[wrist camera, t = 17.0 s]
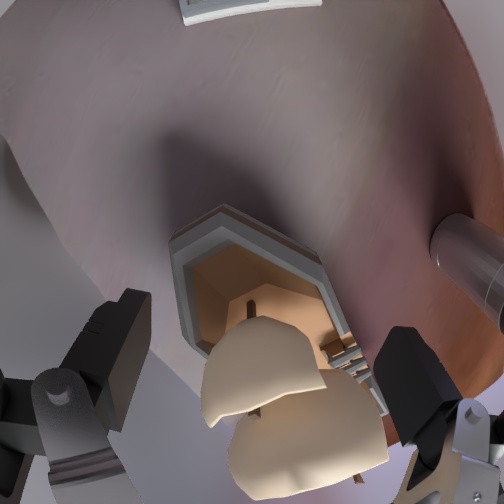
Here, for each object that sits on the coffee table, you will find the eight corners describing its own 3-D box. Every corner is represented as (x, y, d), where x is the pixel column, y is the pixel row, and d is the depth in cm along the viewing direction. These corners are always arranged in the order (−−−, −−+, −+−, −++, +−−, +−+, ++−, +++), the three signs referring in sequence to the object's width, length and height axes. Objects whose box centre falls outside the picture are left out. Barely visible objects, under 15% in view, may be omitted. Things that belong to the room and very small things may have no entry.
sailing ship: (267, 163, 34) (321, 278, 10) (380, 382, 51) (425, 502, 26) (155, 231, 38) (46, 398, 13) (304, 415, 54) (323, 537, 29)
